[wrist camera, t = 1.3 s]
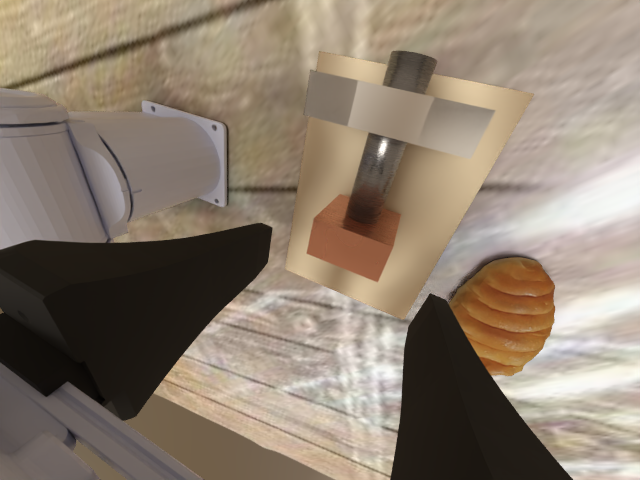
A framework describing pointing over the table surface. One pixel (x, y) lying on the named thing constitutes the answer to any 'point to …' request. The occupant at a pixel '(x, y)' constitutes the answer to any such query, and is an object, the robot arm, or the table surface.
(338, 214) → the bolt
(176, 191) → the robot arm
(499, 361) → the pastry
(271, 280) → the table surface
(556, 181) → the table surface
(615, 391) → the table surface
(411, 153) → the latch board
